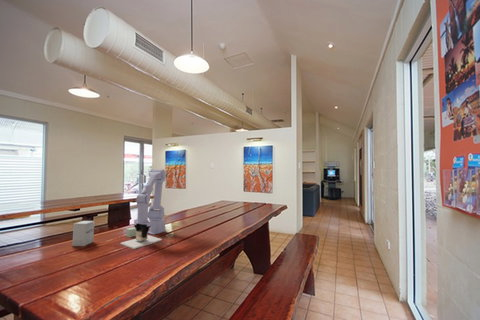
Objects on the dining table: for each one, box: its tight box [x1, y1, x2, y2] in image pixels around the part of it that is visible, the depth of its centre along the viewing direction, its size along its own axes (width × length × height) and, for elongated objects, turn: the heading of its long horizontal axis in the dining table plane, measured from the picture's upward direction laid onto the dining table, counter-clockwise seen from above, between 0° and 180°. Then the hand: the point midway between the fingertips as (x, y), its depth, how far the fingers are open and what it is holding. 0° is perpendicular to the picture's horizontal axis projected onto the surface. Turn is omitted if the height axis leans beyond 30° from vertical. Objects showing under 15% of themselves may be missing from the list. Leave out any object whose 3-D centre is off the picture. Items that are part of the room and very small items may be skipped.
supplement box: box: [71, 220, 95, 247], centre depth 122 cm, size 7×7×13 cm
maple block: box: [135, 230, 147, 241], centre depth 126 cm, size 4×4×5 cm
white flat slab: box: [119, 234, 163, 250], centre depth 126 cm, size 18×14×1 cm
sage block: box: [125, 226, 136, 238], centre depth 138 cm, size 4×4×5 cm
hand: (141, 236), depth 126 cm, fingers closed on maple block, 4 cm apart
